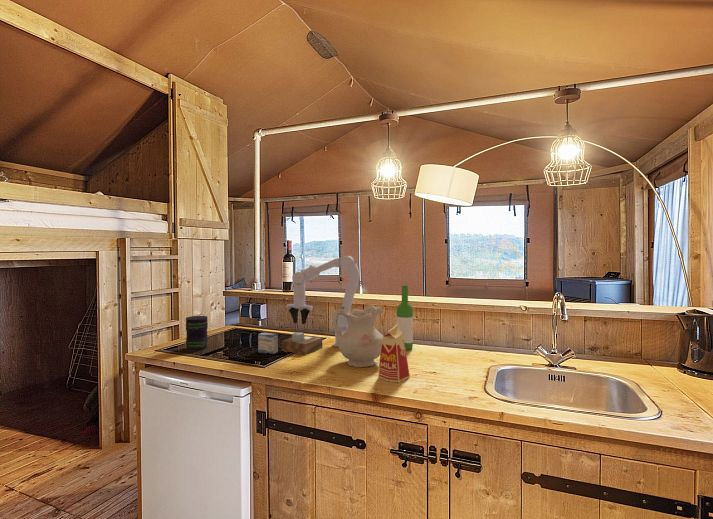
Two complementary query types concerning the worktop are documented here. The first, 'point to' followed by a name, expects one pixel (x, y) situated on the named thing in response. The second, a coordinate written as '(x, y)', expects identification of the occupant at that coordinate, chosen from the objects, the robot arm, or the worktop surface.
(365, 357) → the ceramic pitcher
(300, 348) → the socket block
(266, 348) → the medicine box
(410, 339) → the wine bottle
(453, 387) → the worktop surface
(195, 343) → the storage jar
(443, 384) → the worktop surface
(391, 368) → the milk carton
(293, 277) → the robot arm
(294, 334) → the pale grey block
